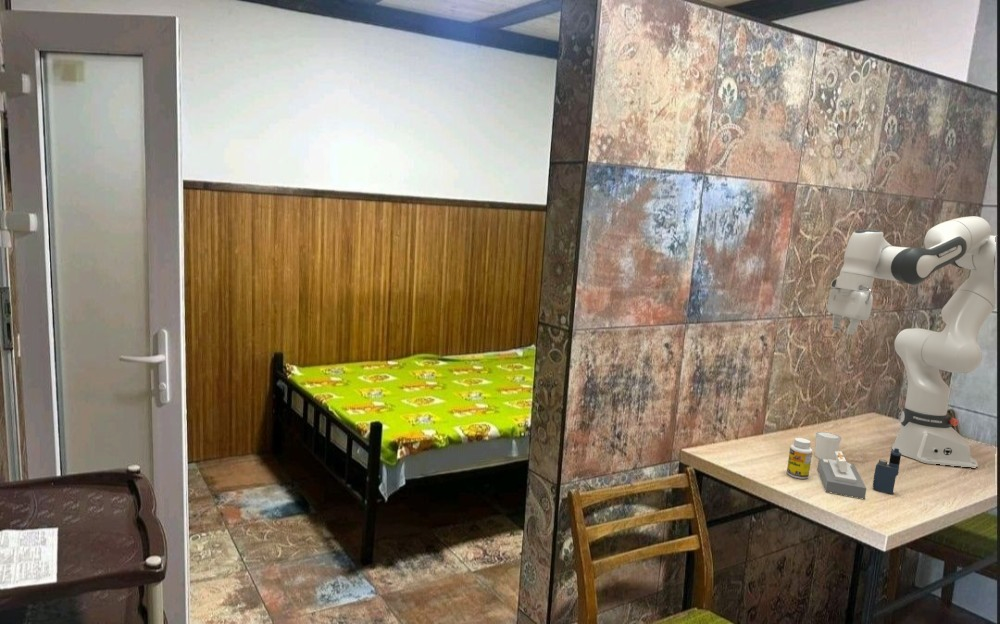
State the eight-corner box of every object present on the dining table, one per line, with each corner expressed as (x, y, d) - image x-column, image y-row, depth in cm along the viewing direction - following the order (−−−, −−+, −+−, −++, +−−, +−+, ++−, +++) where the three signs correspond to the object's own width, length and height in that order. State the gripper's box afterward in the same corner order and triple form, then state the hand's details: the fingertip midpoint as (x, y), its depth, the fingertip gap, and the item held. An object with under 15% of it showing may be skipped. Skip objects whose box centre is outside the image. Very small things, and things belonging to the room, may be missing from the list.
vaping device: (894, 495, 172) (902, 451, 170) (871, 489, 174) (879, 446, 173) (894, 492, 174) (902, 448, 172) (872, 486, 177) (879, 444, 175)
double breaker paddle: (842, 461, 180) (841, 450, 180) (847, 472, 173) (846, 460, 173) (836, 462, 181) (834, 451, 181) (841, 472, 173) (839, 460, 173)
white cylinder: (840, 463, 194) (844, 440, 193) (815, 459, 195) (819, 437, 194) (834, 455, 200) (837, 433, 199) (810, 452, 202) (813, 430, 201)
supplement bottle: (781, 472, 182) (787, 437, 181) (796, 470, 185) (801, 436, 183) (798, 480, 177) (803, 444, 176) (813, 478, 179) (818, 442, 178)
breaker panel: (852, 474, 185) (854, 461, 184) (864, 499, 168) (867, 484, 167) (817, 468, 187) (819, 455, 187) (825, 492, 171) (828, 477, 170)
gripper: (883, 289, 177) (870, 339, 178) (850, 285, 197) (838, 330, 198) (859, 284, 177) (846, 334, 179) (828, 281, 197) (817, 326, 199)
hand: (842, 332), depth 189 cm, fingers open, 8 cm apart
